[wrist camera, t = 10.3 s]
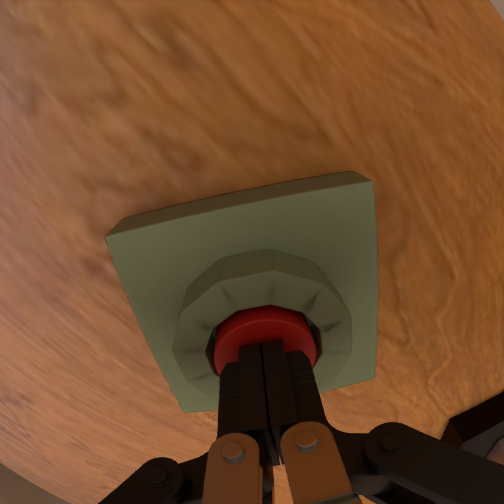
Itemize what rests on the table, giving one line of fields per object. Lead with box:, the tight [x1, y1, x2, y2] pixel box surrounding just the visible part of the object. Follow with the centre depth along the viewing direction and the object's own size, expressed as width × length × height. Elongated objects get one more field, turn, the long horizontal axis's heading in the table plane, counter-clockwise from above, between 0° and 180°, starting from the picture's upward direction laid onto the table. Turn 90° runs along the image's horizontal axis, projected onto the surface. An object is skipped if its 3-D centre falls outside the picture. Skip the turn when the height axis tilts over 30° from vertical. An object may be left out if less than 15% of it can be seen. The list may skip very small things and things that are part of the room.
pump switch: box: [105, 171, 378, 413], centre depth 13 cm, size 10×10×4 cm
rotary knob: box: [486, 437, 504, 465], centre depth 18 cm, size 5×2×5 cm, turn 11°
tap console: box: [441, 392, 504, 458], centre depth 22 cm, size 12×12×3 cm
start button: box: [214, 304, 316, 375], centre depth 12 cm, size 4×4×2 cm
